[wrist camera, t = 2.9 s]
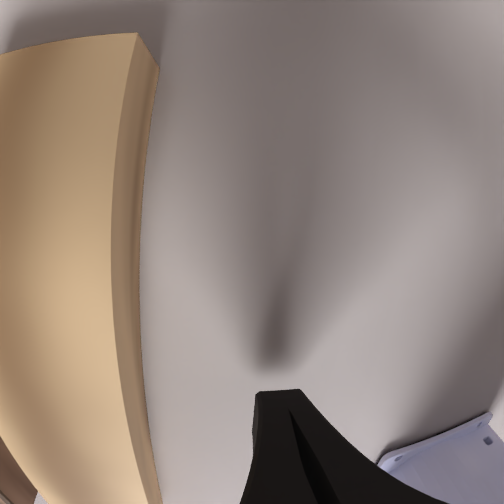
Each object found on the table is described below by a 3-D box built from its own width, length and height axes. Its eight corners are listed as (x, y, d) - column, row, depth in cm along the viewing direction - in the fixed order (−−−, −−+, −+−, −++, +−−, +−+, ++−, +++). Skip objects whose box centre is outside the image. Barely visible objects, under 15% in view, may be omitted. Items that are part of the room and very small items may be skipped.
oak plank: (162, 73, 7) (138, 32, 4) (163, 498, 12) (160, 539, 10) (2, 87, 6) (-54, 74, 3) (68, 477, 12) (57, 514, 9)
